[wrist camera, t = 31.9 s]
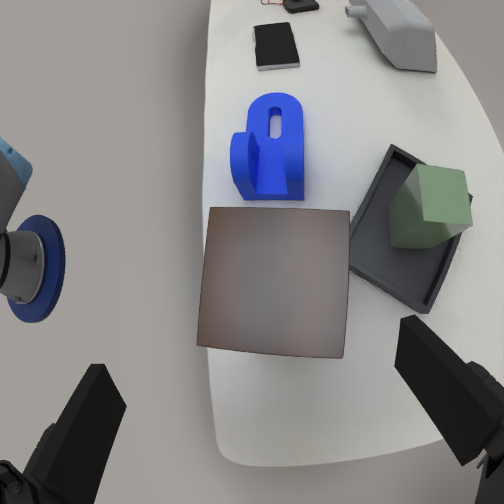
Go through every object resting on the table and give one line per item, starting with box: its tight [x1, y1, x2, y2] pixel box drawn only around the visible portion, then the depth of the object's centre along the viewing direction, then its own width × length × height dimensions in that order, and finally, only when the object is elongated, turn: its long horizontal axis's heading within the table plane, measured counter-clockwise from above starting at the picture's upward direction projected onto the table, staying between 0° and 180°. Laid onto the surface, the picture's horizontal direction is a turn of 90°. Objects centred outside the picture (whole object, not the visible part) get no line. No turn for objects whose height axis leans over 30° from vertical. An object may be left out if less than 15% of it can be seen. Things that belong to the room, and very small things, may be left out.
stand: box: [197, 207, 350, 359], centre depth 27 cm, size 9×9×20 cm
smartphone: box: [253, 22, 300, 71], centre depth 45 cm, size 8×1×15 cm
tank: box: [345, 0, 437, 72], centre depth 36 cm, size 25×16×12 cm, turn 4°
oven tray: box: [349, 144, 473, 314], centre depth 34 cm, size 15×19×3 cm
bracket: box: [230, 93, 304, 200], centre depth 37 cm, size 18×8×9 cm, turn 176°
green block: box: [388, 164, 473, 249], centre depth 29 cm, size 6×6×12 cm
